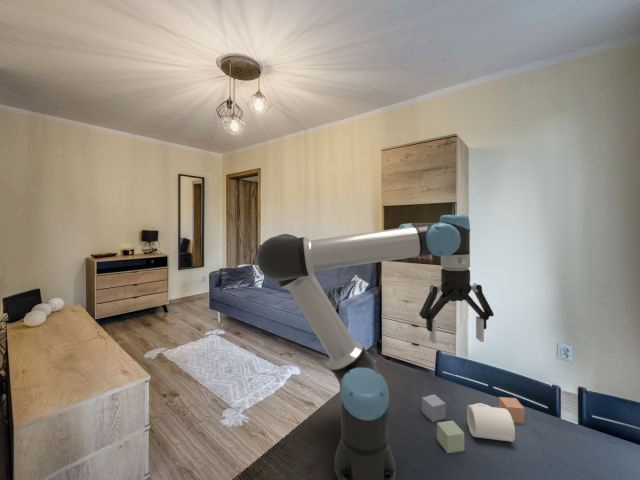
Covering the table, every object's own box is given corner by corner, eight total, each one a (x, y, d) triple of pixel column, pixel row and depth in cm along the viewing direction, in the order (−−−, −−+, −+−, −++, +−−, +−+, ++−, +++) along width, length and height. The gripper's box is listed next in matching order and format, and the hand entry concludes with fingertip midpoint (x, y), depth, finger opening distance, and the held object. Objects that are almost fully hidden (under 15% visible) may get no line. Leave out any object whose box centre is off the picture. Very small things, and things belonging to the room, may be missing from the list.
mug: (515, 449, 76) (515, 421, 76) (475, 443, 78) (475, 416, 78) (496, 418, 88) (497, 394, 87) (462, 414, 90) (462, 390, 89)
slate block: (432, 422, 86) (432, 406, 86) (421, 412, 91) (421, 397, 91) (445, 418, 88) (445, 403, 88) (434, 408, 93) (434, 394, 93)
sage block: (447, 453, 75) (447, 435, 75) (436, 439, 80) (437, 422, 79) (464, 450, 76) (464, 433, 75) (452, 437, 81) (453, 420, 80)
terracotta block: (506, 422, 86) (506, 406, 86) (498, 411, 91) (499, 396, 91) (524, 424, 85) (524, 408, 85) (515, 413, 90) (515, 398, 90)
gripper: (415, 272, 76) (417, 347, 77) (508, 268, 76) (508, 344, 77) (407, 268, 84) (409, 336, 85) (491, 264, 83) (491, 334, 84)
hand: (456, 340), depth 81 cm, fingers open, 13 cm apart
